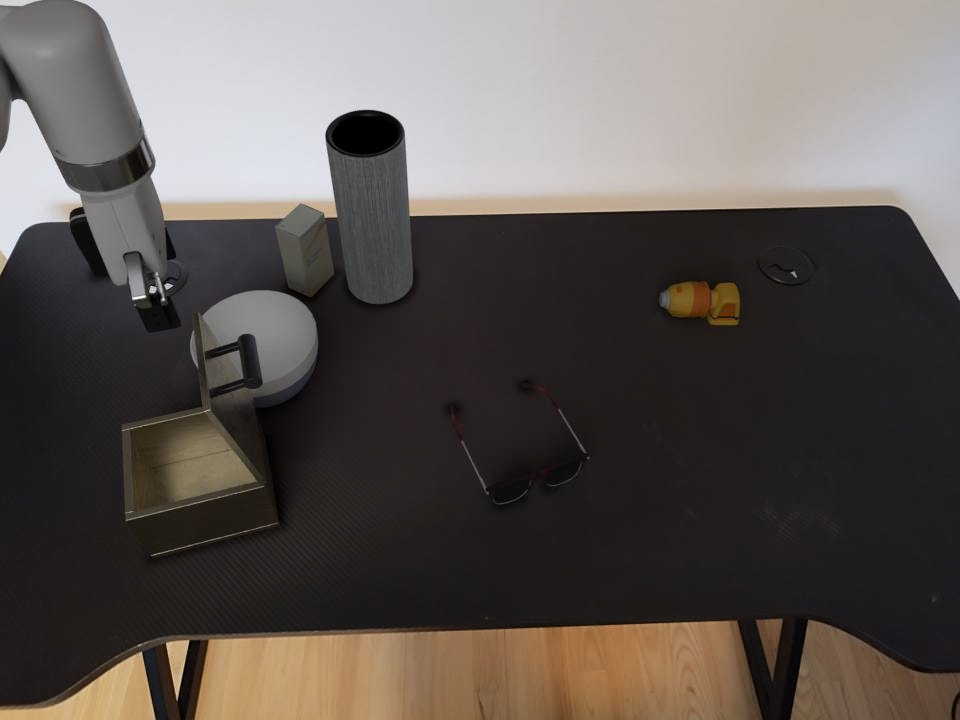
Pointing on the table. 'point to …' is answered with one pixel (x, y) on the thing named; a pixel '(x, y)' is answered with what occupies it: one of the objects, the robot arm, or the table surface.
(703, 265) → the table surface
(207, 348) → the lid
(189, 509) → the brown hollow box
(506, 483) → the sunglasses
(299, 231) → the cosmetic box
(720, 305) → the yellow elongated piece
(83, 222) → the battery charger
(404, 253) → the vase
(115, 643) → the table surface
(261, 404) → the white round container
